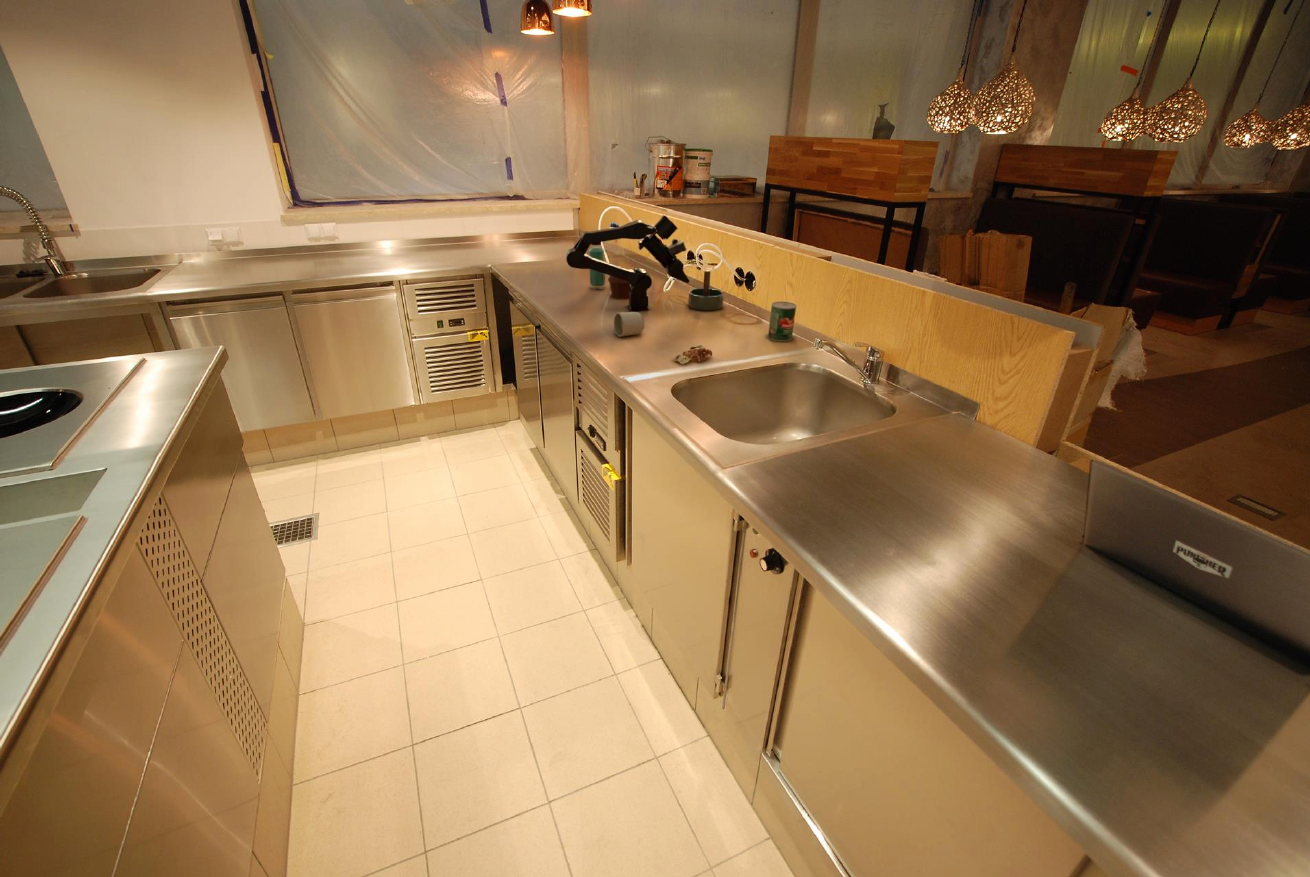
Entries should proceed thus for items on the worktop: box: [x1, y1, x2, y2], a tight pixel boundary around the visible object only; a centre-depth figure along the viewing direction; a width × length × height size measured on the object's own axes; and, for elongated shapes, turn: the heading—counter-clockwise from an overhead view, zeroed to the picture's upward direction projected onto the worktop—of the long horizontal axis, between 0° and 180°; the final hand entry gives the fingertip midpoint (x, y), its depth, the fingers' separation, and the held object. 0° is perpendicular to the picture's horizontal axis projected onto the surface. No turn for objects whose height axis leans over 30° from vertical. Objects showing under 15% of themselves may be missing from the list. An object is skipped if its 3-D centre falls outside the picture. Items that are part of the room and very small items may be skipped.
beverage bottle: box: [588, 242, 606, 287], centre depth 239 cm, size 6×7×20 cm
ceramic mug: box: [613, 311, 645, 338], centre depth 189 cm, size 11×8×8 cm
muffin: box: [607, 275, 631, 300], centre depth 230 cm, size 12×11×10 cm
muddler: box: [702, 269, 711, 297], centre depth 218 cm, size 4×4×13 cm
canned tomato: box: [767, 301, 797, 342], centre depth 187 cm, size 8×8×11 cm
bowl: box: [687, 287, 725, 312], centre depth 220 cm, size 13×13×6 cm
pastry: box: [674, 344, 713, 365], centre depth 170 cm, size 7×12×4 cm, turn 134°
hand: (686, 279), depth 215 cm, fingers open, 9 cm apart
